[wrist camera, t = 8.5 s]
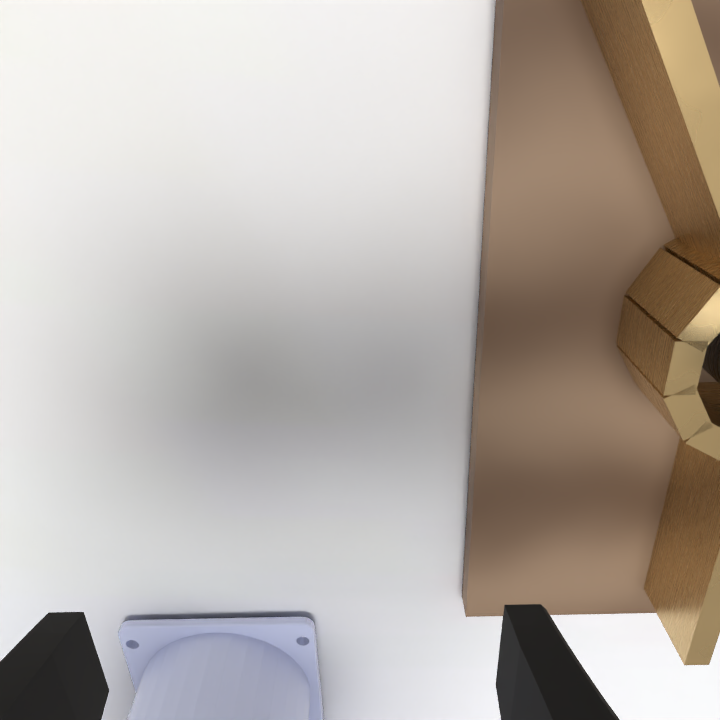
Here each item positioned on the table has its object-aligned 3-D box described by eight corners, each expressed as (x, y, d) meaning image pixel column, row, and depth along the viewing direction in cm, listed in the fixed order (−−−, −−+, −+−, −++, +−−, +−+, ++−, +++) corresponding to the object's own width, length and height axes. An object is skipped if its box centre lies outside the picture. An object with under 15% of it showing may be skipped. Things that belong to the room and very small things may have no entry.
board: (726, 590, 24) (740, 610, 23) (461, 595, 24) (465, 616, 23) (962, -138, 14) (1004, -152, 13) (502, -117, 14) (512, -130, 13)
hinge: (735, 586, 23) (789, 663, 20) (498, 591, 23) (517, 668, 20) (961, -94, 13) (1125, -138, 10) (560, -78, 14) (613, -115, 11)
